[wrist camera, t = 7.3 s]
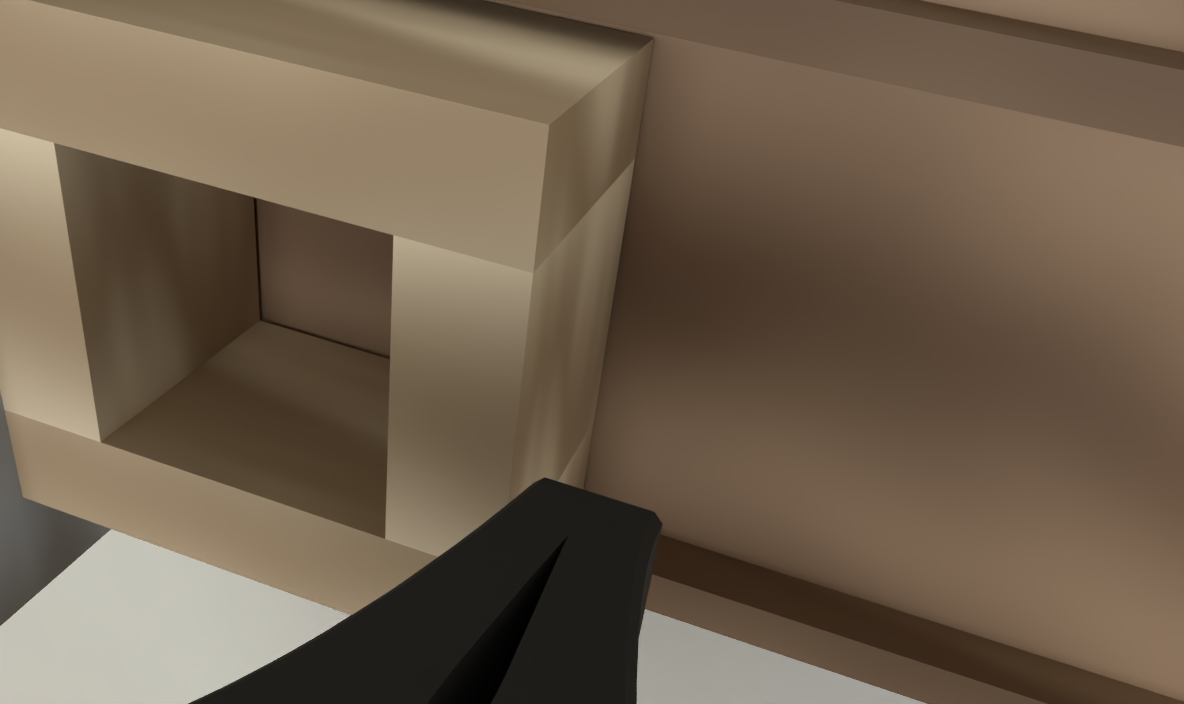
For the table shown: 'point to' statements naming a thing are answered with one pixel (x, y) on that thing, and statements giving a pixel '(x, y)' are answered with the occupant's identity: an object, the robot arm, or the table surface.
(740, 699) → the table surface
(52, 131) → the wooden square frame
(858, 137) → the rail board
